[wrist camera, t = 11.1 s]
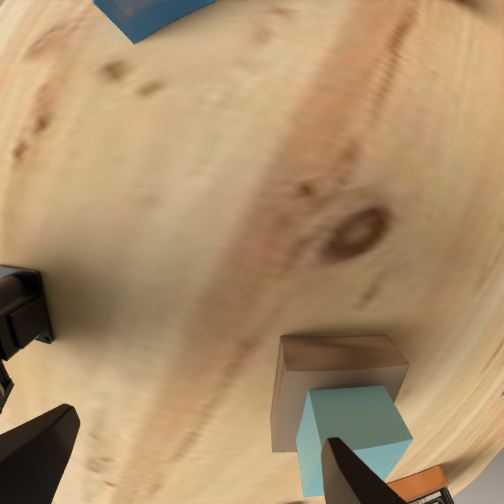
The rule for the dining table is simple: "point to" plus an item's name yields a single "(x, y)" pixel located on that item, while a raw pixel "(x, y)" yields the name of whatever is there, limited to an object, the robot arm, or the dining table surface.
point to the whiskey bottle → (424, 488)
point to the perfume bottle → (146, 14)
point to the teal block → (350, 431)
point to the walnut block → (328, 375)
